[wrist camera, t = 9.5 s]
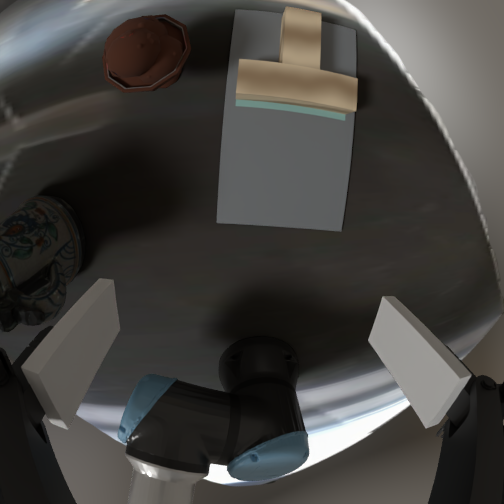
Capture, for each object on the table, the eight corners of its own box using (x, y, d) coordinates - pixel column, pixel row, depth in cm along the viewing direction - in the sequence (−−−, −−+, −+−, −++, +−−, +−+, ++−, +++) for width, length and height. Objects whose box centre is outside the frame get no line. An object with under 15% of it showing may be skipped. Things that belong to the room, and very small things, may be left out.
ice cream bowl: (214, 77, 33) (203, 35, 18) (148, 119, 34) (102, 103, 20) (179, 29, 29) (155, -21, 15) (117, 70, 31) (68, 40, 16)
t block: (345, 114, 35) (356, 111, 31) (235, 99, 34) (235, 93, 30) (347, 32, 30) (357, 23, 26) (244, 14, 29) (246, 2, 25)
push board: (340, 230, 41) (341, 231, 41) (216, 222, 40) (216, 222, 39) (354, 31, 30) (355, 30, 30) (235, 10, 28) (235, 9, 28)
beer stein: (14, 207, 36) (-82, 251, 12) (87, 175, 36) (-35, 210, 12) (40, 286, 41) (-35, 360, 18) (114, 272, 41) (34, 372, 18)
